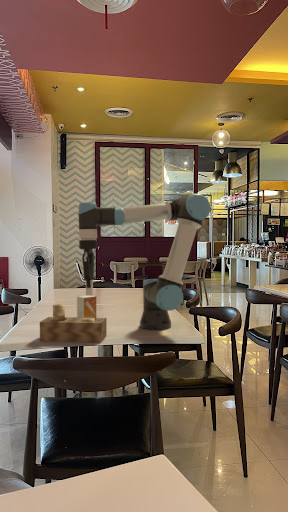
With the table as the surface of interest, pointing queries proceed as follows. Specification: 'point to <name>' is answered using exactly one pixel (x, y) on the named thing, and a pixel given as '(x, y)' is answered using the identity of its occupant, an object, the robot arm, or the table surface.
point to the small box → (86, 306)
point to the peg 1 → (59, 312)
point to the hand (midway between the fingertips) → (89, 295)
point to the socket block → (73, 330)
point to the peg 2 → (89, 320)
